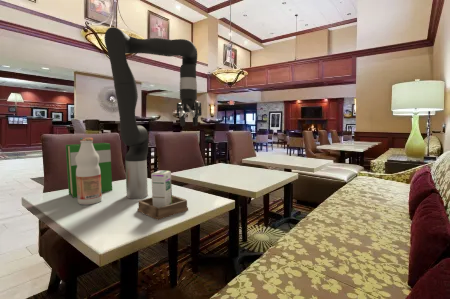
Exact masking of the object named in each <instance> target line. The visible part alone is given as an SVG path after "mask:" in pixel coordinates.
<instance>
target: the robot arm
mask: <svg viewBox="0 0 450 299" xmlns="http://www.w3.org/2000/svg"><path fill="white" fill-rule="evenodd" d="M104 44H105V48H106V52H107V56H108V58H109V62H110V69H111V73H112V79H113V86H114V93H115V96H116V102H117V108H118V115H119V129H120V130H119V131H120V137H121V140H122V142H123V143H124V145H126V146H128V147H129V149H128V151H127V153H126V154H125V160H124V161H125V183H126V184H125V185H126V198H127V199H132V200H137V199H139V200H140V199H145V198H147V197H148V192H149V191H148V168H147V167H148V165H147V164H148V163H147V162H148V161H147V160H148V159H147V157H148V153H149V134H148V130H147V129H146V128H145V127H144V126H143V125H140V124H139V125H138V123H137V119H136V107H137V104H138V98H139V96H138V95H139V94H138V93H139V92H138V87H137V82H136V79H135V76H134V74H133V71H132V69H131V68H130V67H131V66H130V65H129V63H128V59H127V54H128V55H129V54H147V55H152V56H153V55H155V56H161V57H162V56H163V57H174V56H179V57H181V59H182V60H181V62H182V63H181V65H180V67H179V100H180V101H181V102H177V103H176V116H177V117H179V123H180V127H184V126H186V115H187V114H188V113H190V114H191V116H192V127H198V125H199V117H201V116H202V102H201V101H197V100H198V83H197V62H198V50H197V48H196V46H195V44H194V43H193V42H192V40H189V39H185V38H180V39H176V38H175V39H168V38H160V37H152V38H137V37H134V36H132V35H131V36H130V35H128V34H127V33H126V32H124V31H123V30H122V29H120V28H118V27H114V26H112V27H108V28H107V29H106V31H105V34H104Z"/></svg>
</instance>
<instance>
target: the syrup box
mask: <svg viewBox="0 0 450 299" xmlns="http://www.w3.org/2000/svg"><path fill="white" fill-rule="evenodd" d="M150 175H151V178H150V179H151V196H152V199H153V206H155V207H157V208H160V207H163V206H167V205H170V204H172V195H173V193H172V192H173V188H172V185H173V184H172V172H171V170H157V171H155V172H152V173H151V174H150Z"/></svg>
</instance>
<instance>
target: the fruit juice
mask: <svg viewBox="0 0 450 299" xmlns="http://www.w3.org/2000/svg"><path fill="white" fill-rule="evenodd" d="M79 142H80V144H81V146H80V150H79V152H78V154H77V155H76V158H75V160H76V163H77V168H76V183H77V197H76V198H77V203H78V204H79V205H94V204H97V203H99V202H101V201H102V200H103V192H102V190H101V171H100V167H99V159H100V158H99V155H98V153H97V152H96V151H95V149H94V146H93V142H94V138H93V137H81V138H79Z"/></svg>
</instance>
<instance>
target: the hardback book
mask: <svg viewBox="0 0 450 299" xmlns="http://www.w3.org/2000/svg"><path fill="white" fill-rule="evenodd" d="M92 143H93V142H92ZM80 146H81V143H79V144H78V143H77V144H65V154H66V155H65V158H66V172H67V174H66V175H67V184H68V185H67V186H68V196H71V195H72V198H73V199H74V198H75V199H76V198H77V183H76V168H77V163H76V160H75V158H76V155H77V154H78V152H79V150H80ZM93 146H94V149H95V151H96V152H97V153H98V155H99V158H100V159H99V167H100V171H101V190H102V193H108V192H113V177H112V175H113V174H112V173H113V172H112V154H111V143H108V142H96V143H93Z"/></svg>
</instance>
